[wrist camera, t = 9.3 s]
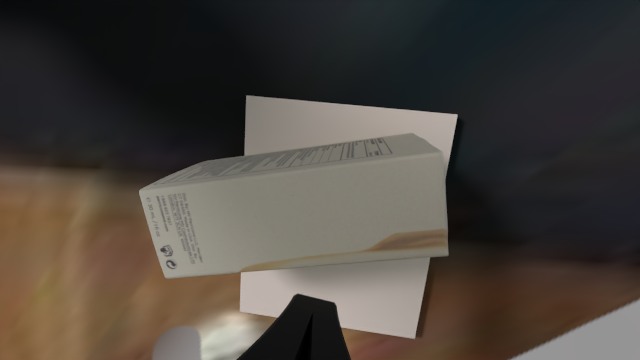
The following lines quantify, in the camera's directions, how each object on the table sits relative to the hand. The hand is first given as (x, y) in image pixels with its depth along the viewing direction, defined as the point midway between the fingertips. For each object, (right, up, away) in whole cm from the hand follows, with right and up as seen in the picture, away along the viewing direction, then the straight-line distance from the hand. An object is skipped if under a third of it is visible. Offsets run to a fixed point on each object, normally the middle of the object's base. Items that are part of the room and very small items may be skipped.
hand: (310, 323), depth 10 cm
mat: (+1, +2, +9) cm, 9 cm away
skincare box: (-7, +3, +6) cm, 10 cm away
